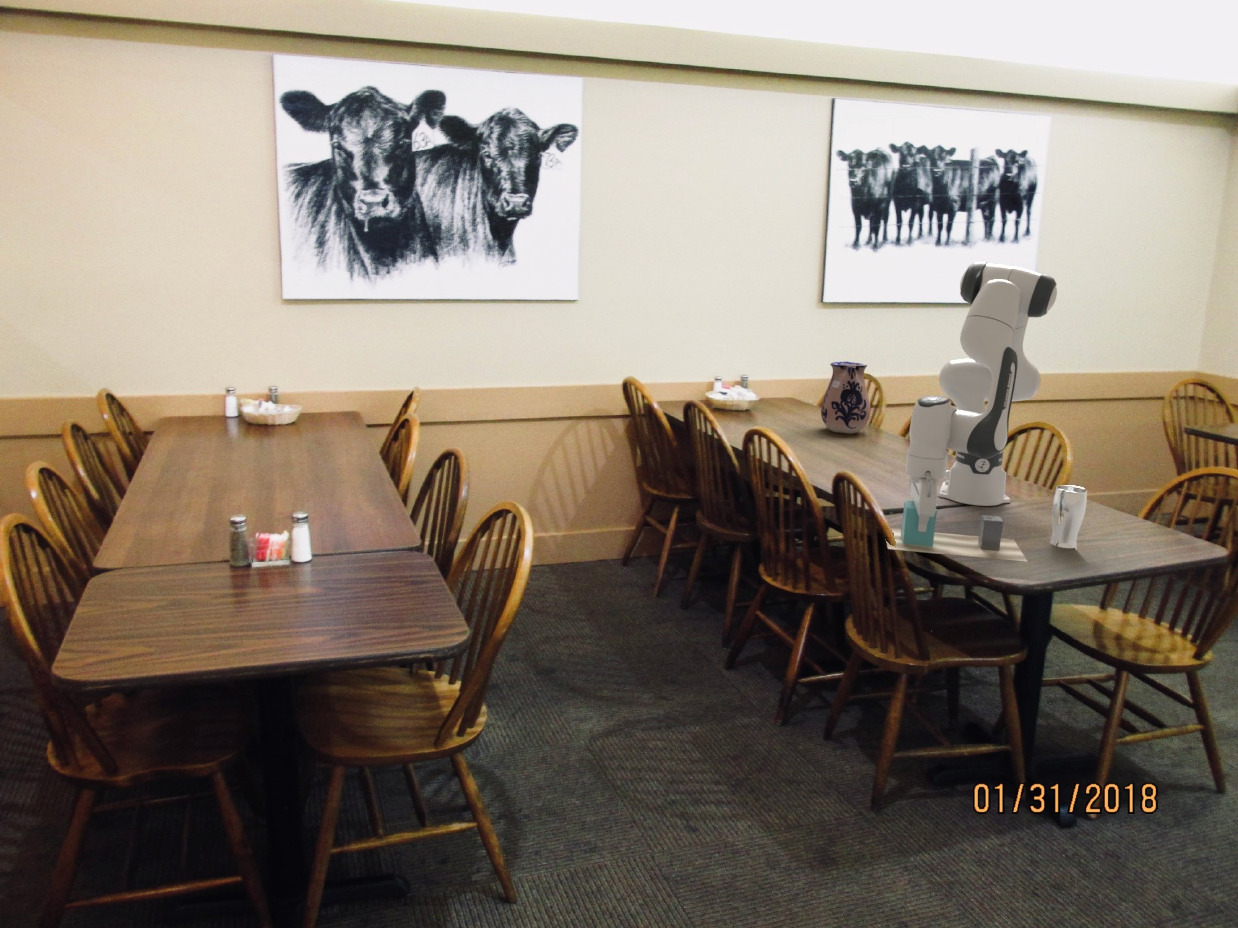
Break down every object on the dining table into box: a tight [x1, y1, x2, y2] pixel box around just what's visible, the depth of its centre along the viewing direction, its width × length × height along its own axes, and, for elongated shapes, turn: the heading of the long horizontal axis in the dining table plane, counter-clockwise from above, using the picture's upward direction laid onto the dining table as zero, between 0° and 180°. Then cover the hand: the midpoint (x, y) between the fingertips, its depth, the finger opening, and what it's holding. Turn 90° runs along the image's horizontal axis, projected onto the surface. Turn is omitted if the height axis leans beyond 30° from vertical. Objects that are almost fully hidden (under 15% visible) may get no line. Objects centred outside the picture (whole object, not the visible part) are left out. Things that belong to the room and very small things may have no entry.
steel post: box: [978, 514, 1004, 551], centre depth 219 cm, size 4×4×7 cm
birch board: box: [885, 528, 1029, 563], centre depth 221 cm, size 16×30×2 cm, turn 78°
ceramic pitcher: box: [820, 360, 871, 435], centre depth 348 cm, size 18×21×25 cm
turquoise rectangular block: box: [900, 500, 938, 547], centre depth 221 cm, size 7×7×9 cm
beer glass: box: [1049, 484, 1088, 551], centre depth 222 cm, size 7×7×15 cm
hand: (919, 524), depth 221 cm, fingers open, 8 cm apart
